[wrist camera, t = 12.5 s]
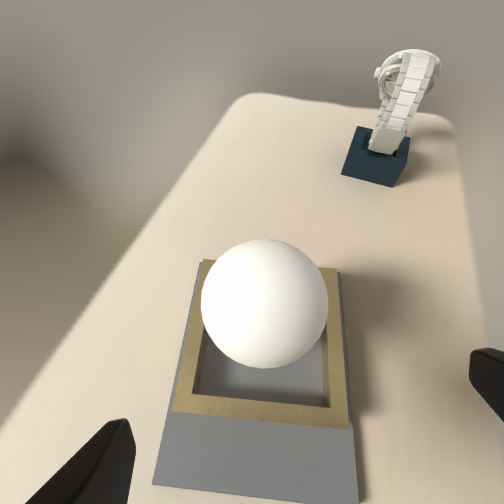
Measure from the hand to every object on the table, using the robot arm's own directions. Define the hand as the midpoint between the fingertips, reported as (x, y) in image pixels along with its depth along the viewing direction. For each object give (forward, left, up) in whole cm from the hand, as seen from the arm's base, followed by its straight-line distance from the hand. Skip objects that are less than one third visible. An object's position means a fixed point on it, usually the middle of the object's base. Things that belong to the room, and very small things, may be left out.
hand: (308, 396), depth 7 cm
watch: (+24, -9, -14) cm, 30 cm away
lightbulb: (+4, +1, -13) cm, 14 cm away
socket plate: (+3, +1, -14) cm, 14 cm away
